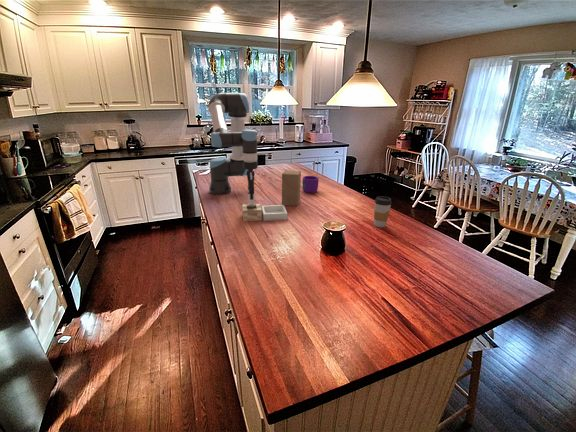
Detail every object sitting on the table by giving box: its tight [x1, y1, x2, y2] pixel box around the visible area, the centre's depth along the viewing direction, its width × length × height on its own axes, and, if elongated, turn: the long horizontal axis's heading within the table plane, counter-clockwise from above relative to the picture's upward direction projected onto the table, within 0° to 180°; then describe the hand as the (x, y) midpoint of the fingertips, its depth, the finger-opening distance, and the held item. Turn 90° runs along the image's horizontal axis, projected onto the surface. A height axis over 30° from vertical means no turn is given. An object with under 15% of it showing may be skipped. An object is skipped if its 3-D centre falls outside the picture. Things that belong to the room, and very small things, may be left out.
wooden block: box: [281, 169, 302, 207], centre depth 181 cm, size 10×10×20 cm
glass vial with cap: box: [247, 187, 256, 209], centre depth 159 cm, size 4×4×14 cm
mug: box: [302, 175, 319, 194], centre depth 210 cm, size 17×11×10 cm, turn 17°
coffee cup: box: [373, 195, 392, 228], centre depth 152 cm, size 8×8×15 cm
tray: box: [261, 204, 288, 222], centre depth 164 cm, size 13×13×4 cm
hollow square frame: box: [241, 203, 263, 222], centre depth 161 cm, size 10×10×6 cm
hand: (251, 203), depth 159 cm, fingers closed on glass vial with cap, 3 cm apart
